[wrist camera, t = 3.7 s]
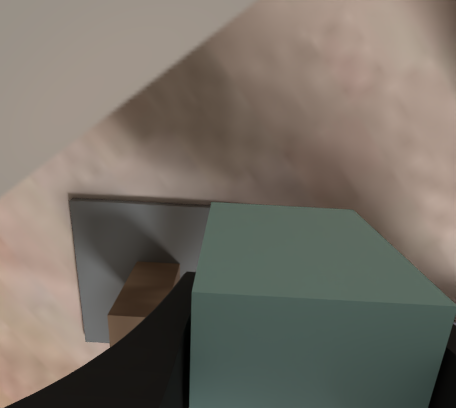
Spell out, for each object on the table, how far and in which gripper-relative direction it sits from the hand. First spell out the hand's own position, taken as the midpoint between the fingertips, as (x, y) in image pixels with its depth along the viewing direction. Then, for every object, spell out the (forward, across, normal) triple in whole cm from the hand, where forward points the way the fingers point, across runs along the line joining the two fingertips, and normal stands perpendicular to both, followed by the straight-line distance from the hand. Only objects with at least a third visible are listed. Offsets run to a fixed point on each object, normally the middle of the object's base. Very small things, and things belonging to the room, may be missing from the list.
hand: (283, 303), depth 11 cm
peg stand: (+9, +6, +5) cm, 12 cm away
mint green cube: (+2, 0, 0) cm, 2 cm away
